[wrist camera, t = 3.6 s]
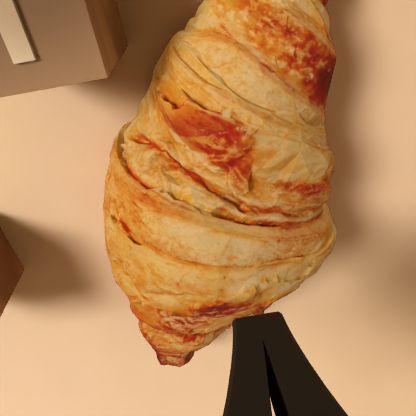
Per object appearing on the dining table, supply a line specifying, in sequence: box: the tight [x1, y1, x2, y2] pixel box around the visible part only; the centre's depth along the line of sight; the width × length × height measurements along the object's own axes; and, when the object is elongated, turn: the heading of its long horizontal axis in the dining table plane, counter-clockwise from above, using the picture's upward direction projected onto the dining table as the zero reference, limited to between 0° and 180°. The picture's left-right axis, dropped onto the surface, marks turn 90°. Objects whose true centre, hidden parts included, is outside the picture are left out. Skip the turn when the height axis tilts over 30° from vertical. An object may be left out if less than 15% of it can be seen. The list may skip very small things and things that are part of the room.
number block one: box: [0, 0, 127, 97], centre depth 12 cm, size 4×4×5 cm
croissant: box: [103, 0, 337, 367], centre depth 16 cm, size 21×10×8 cm, turn 166°
